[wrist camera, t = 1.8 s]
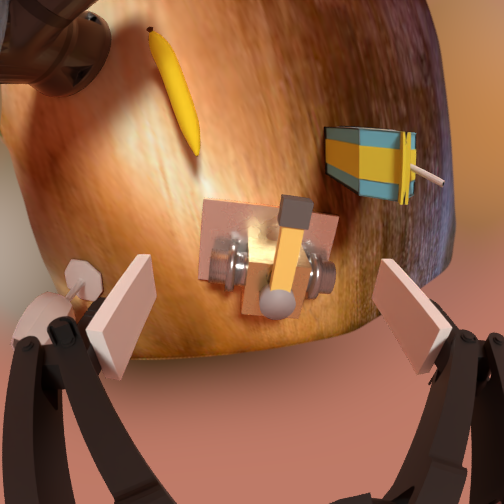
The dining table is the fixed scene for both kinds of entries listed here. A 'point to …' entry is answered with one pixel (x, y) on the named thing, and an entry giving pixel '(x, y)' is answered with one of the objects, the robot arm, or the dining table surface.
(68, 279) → the wineglass
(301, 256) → the valve body
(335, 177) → the carton
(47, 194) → the dining table surface
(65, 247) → the dining table surface
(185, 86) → the banana
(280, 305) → the lever
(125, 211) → the dining table surface
